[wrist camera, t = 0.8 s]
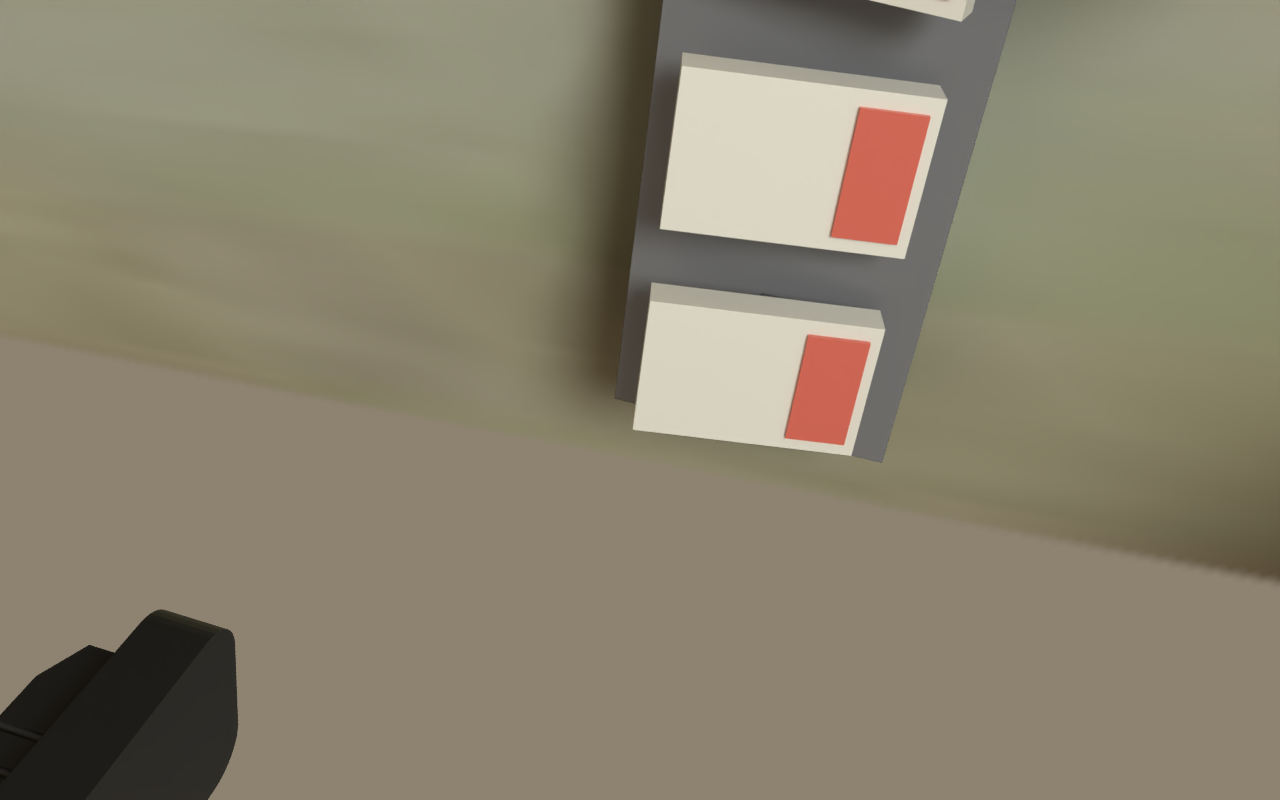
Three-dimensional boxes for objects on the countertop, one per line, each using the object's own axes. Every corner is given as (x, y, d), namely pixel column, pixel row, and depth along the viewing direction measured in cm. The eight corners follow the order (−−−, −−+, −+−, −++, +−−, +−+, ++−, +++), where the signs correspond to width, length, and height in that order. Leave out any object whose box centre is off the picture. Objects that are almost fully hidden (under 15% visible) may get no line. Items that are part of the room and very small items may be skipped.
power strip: (1077, -263, 26) (1093, -253, 22) (891, 391, 36) (880, 477, 32) (735, -312, 27) (694, -311, 23) (647, 335, 37) (608, 410, 33)
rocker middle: (940, 85, 26) (948, 101, 25) (898, 241, 29) (905, 261, 28) (682, 52, 26) (681, 67, 25) (661, 211, 28) (659, 231, 28)
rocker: (880, 310, 30) (885, 332, 29) (847, 434, 32) (851, 458, 31) (651, 282, 30) (649, 303, 29) (634, 409, 32) (632, 432, 31)
